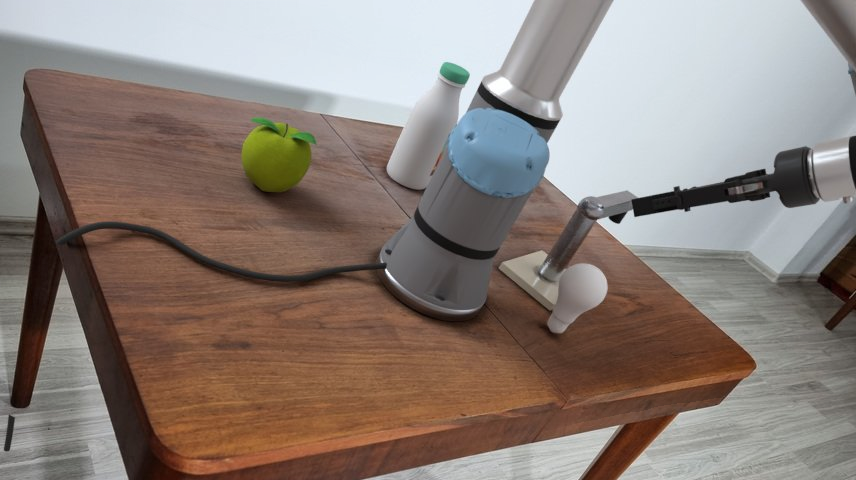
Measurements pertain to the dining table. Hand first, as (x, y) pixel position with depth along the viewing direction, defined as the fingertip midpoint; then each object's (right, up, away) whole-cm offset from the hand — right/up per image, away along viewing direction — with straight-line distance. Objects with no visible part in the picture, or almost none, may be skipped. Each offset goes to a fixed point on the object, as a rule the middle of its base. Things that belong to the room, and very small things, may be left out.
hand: (634, 207), depth 107 cm
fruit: (-55, +2, -7) cm, 55 cm away
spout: (-9, -9, +4) cm, 13 cm away
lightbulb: (-15, -18, -10) cm, 26 cm away
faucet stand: (-14, -11, 0) cm, 18 cm away
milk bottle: (-34, +6, +13) cm, 36 cm away
